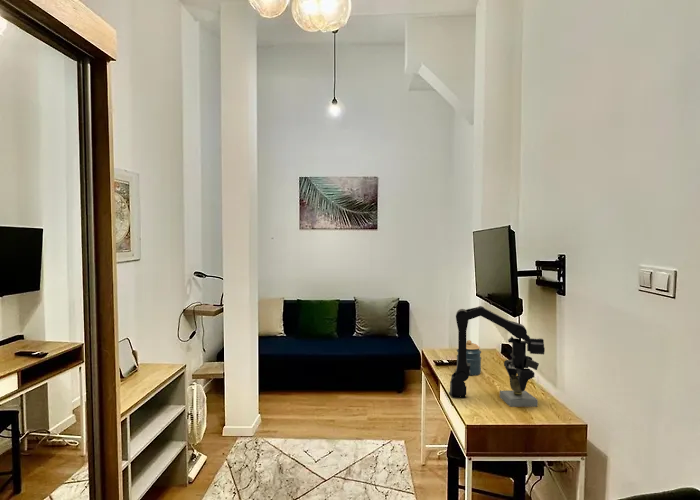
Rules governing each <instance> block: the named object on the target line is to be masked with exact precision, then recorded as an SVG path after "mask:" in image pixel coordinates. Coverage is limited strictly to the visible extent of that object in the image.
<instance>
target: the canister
mask: <svg viewBox="0 0 700 500" xmlns="http://www.w3.org/2000/svg"><path fill="white" fill-rule="evenodd" d="M480 348H481V347H480V346H479V345H478V344H476V343H473V342H472V340H469V339H468V340H466V360H467V363H470V375H469V376H478V375H481V372H482V366H481V365H482V357H481V354H482V351H481V350H480ZM456 352H457V353H458V348H457V349H456ZM457 363H458V354H456V364H457ZM456 369H457V367H456Z"/></svg>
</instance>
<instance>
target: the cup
mask: <svg viewBox="0 0 700 500" xmlns="http://www.w3.org/2000/svg"><path fill="white" fill-rule="evenodd" d="M517 376H518V375H517ZM517 376H516V375H515V376H514V375H511V377H510V376H509V375H508V377H509V386H510V388H511V391H514V392H513V393H514V394H515V395H518V396H520V395H522V392H523V391H521V388H520V385H519V382H518V378H517ZM526 388H527V386H526V387H525V389H526Z"/></svg>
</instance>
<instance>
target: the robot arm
mask: <svg viewBox="0 0 700 500" xmlns="http://www.w3.org/2000/svg"><path fill="white" fill-rule="evenodd" d="M478 317H481V318H482V317H483V318H484V319H486V320H488V321H490V322H492V323H493V324H495V325H498V326H500V327H502V328H503V329H504V330H506V331H507V332H508V333H510V334H511V335H512V336H510V337H509V338H508V339H507V342H508V343H509V344H510V343H511V345H512V346H511V353H509V355H510V357H511V359H505V360H504V361H503V366H504V368H505V370H506V372H507V374H508V377H509V376H510V377H511V375H514V376H515V375H516V376H517V378H518V382H519V385H520V388H521V391H524V390H525V391H526V388H527V384H528V382H529V380H531V379H533V378H535V372H534V371H533V370H535V371H538V368H539V365H540V363H538V362H537V361H535V360H534V359H533V357H531V356H528V355H527V353H526V352H529V354H530V355H532V354H533V355H545V348H546V347H545V343H544V341H545V340H544V339H543V338H533V337H532V338H531V337H530V335H528V331H527V329H526V327H525V326H524V325H523V324H521V323H518V322H516V321H512V320H509V319H506V318H504V317H503V316H501V315H499V314H497V313H495V312H493V311H491V310H489V309H487V308H485V306H482V305H479V306H477V307H472V308H467V309H464V308H460V309H458V310H457V311H456V314H455V320H456V325H457V326H456V327H457V330H458V331H457V333H458V340H457V341H458V342H457V343H458V344H457V345H458V348H457V349H458V352H457V355H458V363H457V362H456V368H457V369H456V370H455V371H454V372H453V373H452V374H451V379H450V381H449V392H448V394H449V396H450V397H451V398H453V399H458V398H460V399H462V398H463V399H466V398H467V386H466V381H467V380H468V379H469V378H470V377H469V376H471V375H470V363H467V360H466V343H467V329H468V324H469V320H473V319H475V318H478ZM513 336H514V337H515V338H514V337H513ZM521 339H522V340H521ZM530 368H531V369H530ZM532 369H533V370H532ZM525 387H526V388H525Z"/></svg>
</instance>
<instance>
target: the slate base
mask: <svg viewBox="0 0 700 500" xmlns="http://www.w3.org/2000/svg"><path fill="white" fill-rule="evenodd" d="M513 392H514V391H513V390H499V398H500V399H501V400H502V401H503V402H504V403H506V405H507V406H509V407H511V408H512V407H513V408H514V407H526V408H527V407H531V408H532V407H533V408H534V407H535V408H537V407H538V402H539V401H538V399H537V398H536V397H535V396H534V395H532V394H530V393H529V392H528V391H527V390H526V389H525V390H524V391H523V392H522V395H520V396H518V395H515V394H514V393H513Z"/></svg>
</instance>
